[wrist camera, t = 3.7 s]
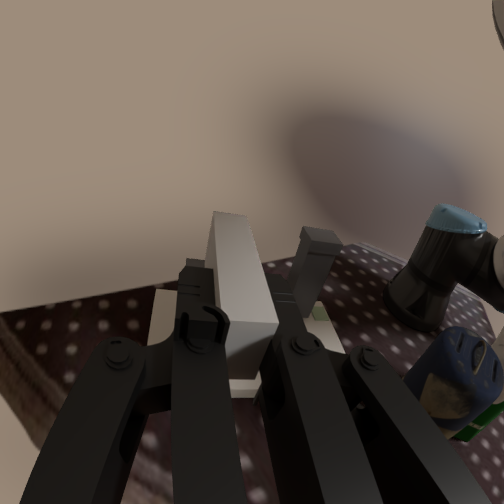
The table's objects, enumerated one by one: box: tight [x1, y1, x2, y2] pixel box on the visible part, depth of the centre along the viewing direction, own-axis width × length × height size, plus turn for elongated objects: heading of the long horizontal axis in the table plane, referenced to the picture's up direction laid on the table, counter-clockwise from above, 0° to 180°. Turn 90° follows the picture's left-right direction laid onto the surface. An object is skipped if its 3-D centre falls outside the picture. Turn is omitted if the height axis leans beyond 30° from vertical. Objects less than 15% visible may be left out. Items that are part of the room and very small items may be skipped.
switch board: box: [147, 289, 345, 398], centre depth 36 cm, size 26×16×2 cm, turn 98°
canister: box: [402, 326, 504, 440], centre depth 22 cm, size 10×10×18 cm
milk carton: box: [454, 327, 504, 442], centre depth 24 cm, size 9×9×20 cm
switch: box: [287, 226, 343, 318], centre depth 38 cm, size 4×4×13 cm
